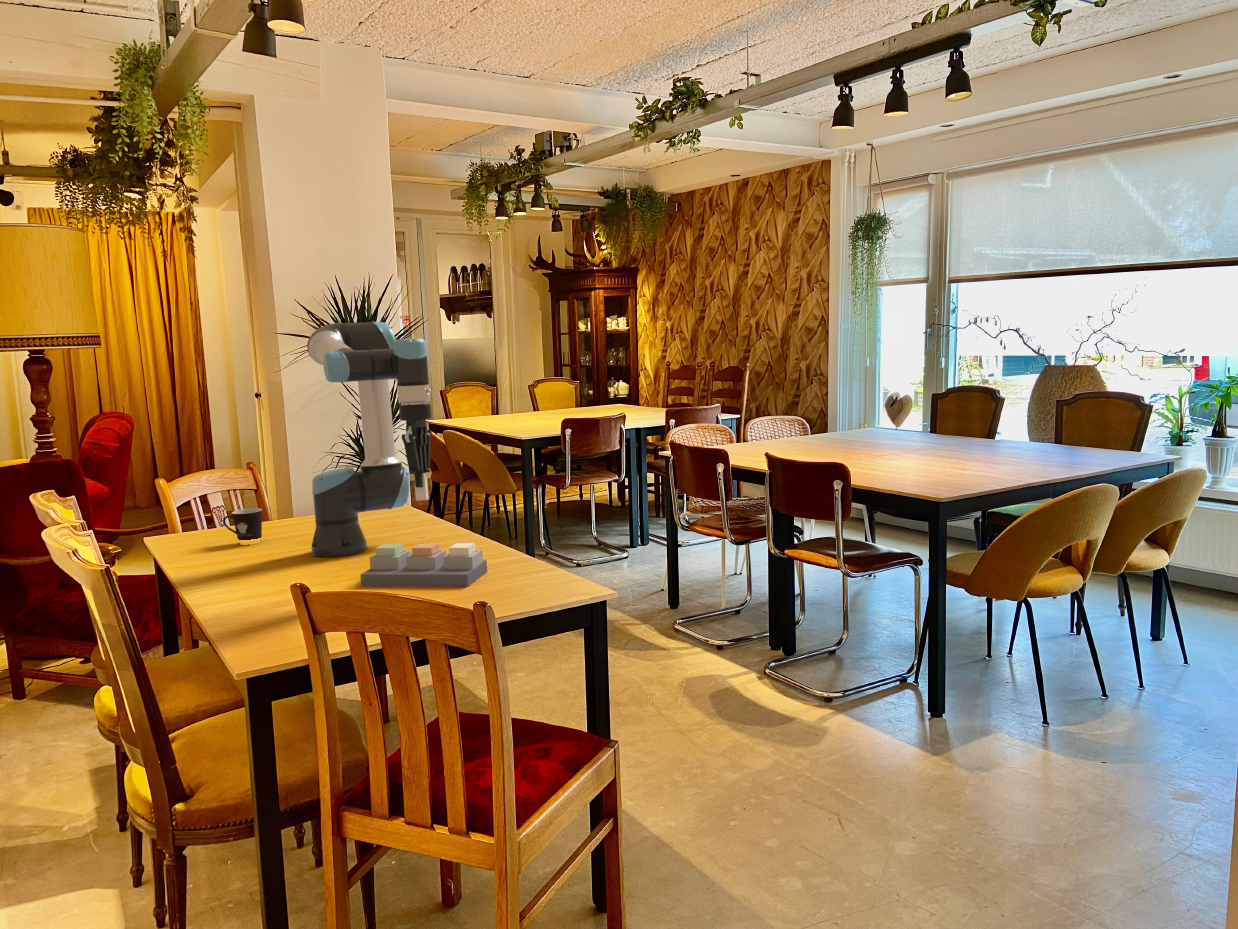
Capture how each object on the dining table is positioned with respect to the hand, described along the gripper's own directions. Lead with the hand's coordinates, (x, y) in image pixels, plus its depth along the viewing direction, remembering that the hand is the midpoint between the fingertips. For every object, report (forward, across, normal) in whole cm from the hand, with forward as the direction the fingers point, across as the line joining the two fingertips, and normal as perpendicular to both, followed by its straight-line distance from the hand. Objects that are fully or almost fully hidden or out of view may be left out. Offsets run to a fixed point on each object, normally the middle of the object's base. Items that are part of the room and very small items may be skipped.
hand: (422, 499), depth 216 cm
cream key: (+15, 0, -9) cm, 17 cm away
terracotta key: (+15, 0, 0) cm, 15 cm away
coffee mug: (+19, +41, +76) cm, 88 cm away
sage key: (+15, 0, +10) cm, 18 cm away
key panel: (+20, -1, 0) cm, 20 cm away
